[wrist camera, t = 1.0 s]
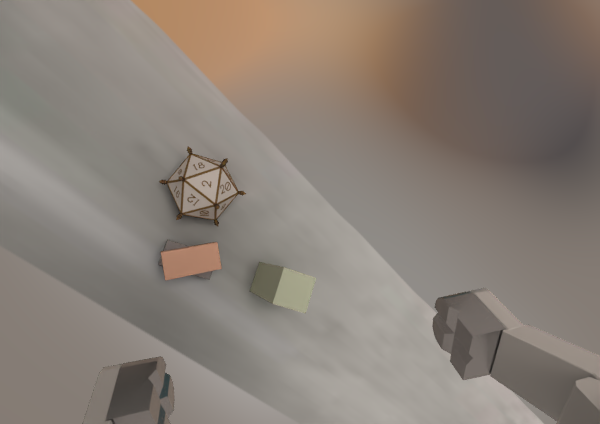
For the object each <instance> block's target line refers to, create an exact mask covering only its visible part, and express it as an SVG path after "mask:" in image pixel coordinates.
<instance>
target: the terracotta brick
mask: <svg viewBox="0 0 600 424" xmlns="http://www.w3.org/2000/svg"><path fill="white" fill-rule="evenodd" d="M161 257H162V264H163V270H164V276H165V280H170V279H174V278H179V277H184V276H189V275H194V274H199V273H204V272H208V271H213V270H218V269H222V268H221V262H220V256H219V250H218V243H217V242H212V243H206V244H201V245H195V246H189V247H184V248H178V249H172V250H167V251H161Z"/></svg>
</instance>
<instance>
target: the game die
mask: <svg viewBox="0 0 600 424" xmlns="http://www.w3.org/2000/svg"><path fill="white" fill-rule="evenodd" d="M187 151H188V153H189V156H188V157H187V158H186V159H185V161H184V162H183V163H182V164H181V165H180V167H179V168H178V169H177V170H176V171H175V173H174V174H173V175H172V176H171V177H170V179H169V180H168V181H166V180H161V181H159V182H160V183H162V184H164V185H165V184H167V185H168V187H169V189H170V192H171V194H172V196H173V198H174V200H175V202H176V205H177V207H178V209H179V211H180V214H178V215H177V219H176V220H178V219H181V217H182V215H187V216H193V217H199V218H205V219H211V220H214V223H215V224H214V225H216V226H218V224H219V222H218V221H217V218H218V217H219V216H220V215H221V213H222V212H223V211H224V210H225V209H226V208H227V206H228V205H229V204H230V203H231V202H232V201H233V199H234V198H235V197H236V196H237V195H238V194H240V195H242V196H243V195H244V194H246V193H245V192H243V191H238V189H237V187H236V185H235V183H234V182H233V180H232V178H231V176H230V174H229V172H228V170H227V168H226V163H227V162H228V161H227V159H228V158H227V159H224V160H223V162H219V161H216V160H212V159H209V158H206V157H202V156H199V155H195V154H192V150H191V148H189V147H188V148H187Z"/></svg>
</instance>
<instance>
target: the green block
mask: <svg viewBox="0 0 600 424" xmlns="http://www.w3.org/2000/svg"><path fill="white" fill-rule="evenodd" d="M315 280H316V278H314V277H311V276H308V275H305V274H302V273H299V272H296V271H293V270H290V269H287V268H285V267H280V266H276V265H271V264H266V263H262V262H259V265H258V268H257V271H256V274H255V277H254V280H253V283H252V286H251V289H250V292H252V293H254V294H256V295H258V296H259V297H261V298H263V299H265V300H267V301H269V302H270V303H272V304H275V305H279V306H282V307H285V308H289V309H292V310H296V311H299V312H302V313H306V310H307V307H308V303H309V300H310V297H311V293H312V290H313V287H314V284H315Z"/></svg>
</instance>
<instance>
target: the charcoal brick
mask: <svg viewBox="0 0 600 424" xmlns="http://www.w3.org/2000/svg"><path fill="white" fill-rule="evenodd" d="M184 247H189V246H186V245H183V244H180V243H176V242H173V241H170V240H167V242H166V244H165V247H164V250H163V251H167V250H172V249H178V248H184ZM158 264H159V265H160V266H163V264H162V257H161V258H160V260H159V263H158ZM211 274H212V271H208V272H204V273H199V274H194V275H195V276H198V277H202V278H205V279H209V280H210V277H211Z"/></svg>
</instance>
